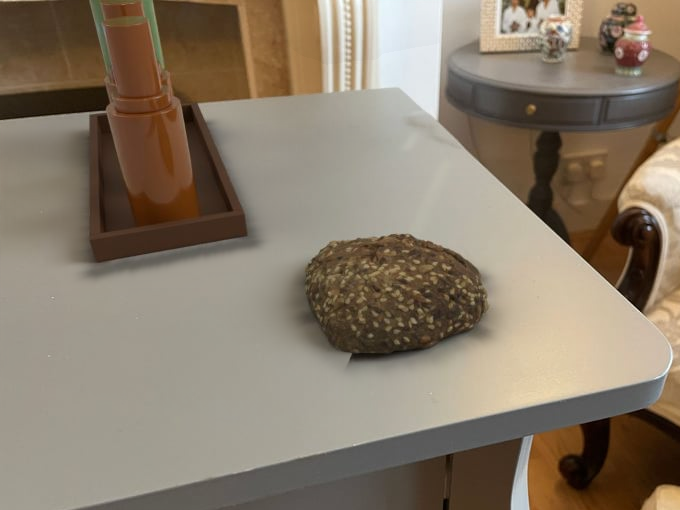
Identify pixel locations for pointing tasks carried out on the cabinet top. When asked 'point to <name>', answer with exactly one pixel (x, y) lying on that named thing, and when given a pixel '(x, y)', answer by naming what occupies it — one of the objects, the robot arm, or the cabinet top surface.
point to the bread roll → (393, 293)
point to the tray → (127, 241)
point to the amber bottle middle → (120, 4)
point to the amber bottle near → (148, 128)
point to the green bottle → (149, 14)
